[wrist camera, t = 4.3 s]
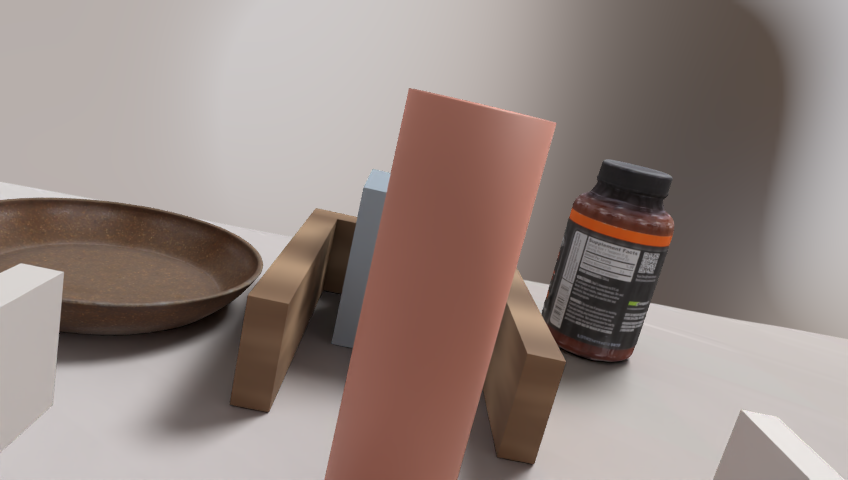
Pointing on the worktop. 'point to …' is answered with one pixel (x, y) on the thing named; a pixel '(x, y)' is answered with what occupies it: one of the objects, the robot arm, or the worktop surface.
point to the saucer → (127, 262)
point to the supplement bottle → (609, 263)
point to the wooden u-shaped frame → (325, 270)
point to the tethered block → (431, 285)
